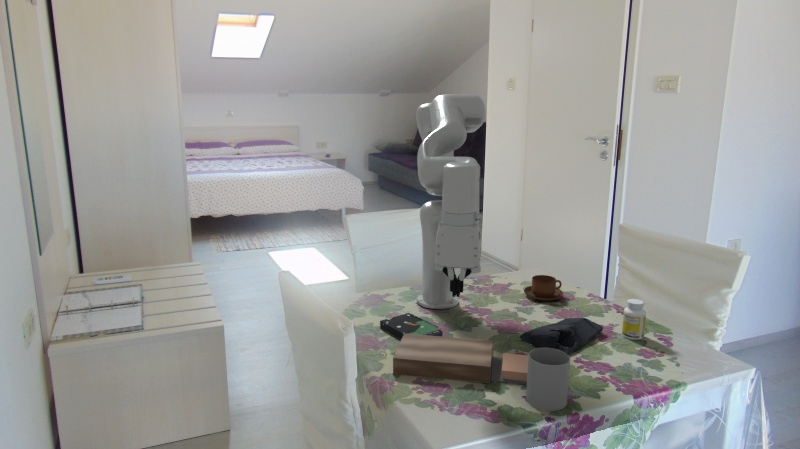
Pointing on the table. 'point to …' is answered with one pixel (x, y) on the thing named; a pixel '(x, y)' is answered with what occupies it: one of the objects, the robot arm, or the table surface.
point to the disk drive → (409, 326)
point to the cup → (547, 379)
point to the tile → (515, 367)
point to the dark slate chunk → (563, 334)
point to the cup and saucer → (544, 288)
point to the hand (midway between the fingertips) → (456, 294)
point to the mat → (497, 373)
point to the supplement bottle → (634, 320)
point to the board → (444, 358)
